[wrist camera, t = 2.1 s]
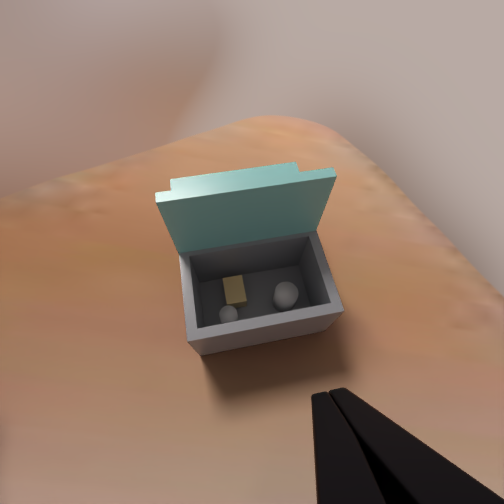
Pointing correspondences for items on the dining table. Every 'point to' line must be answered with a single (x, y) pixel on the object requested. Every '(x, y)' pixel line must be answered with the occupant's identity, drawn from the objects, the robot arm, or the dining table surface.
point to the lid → (244, 205)
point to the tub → (257, 292)
